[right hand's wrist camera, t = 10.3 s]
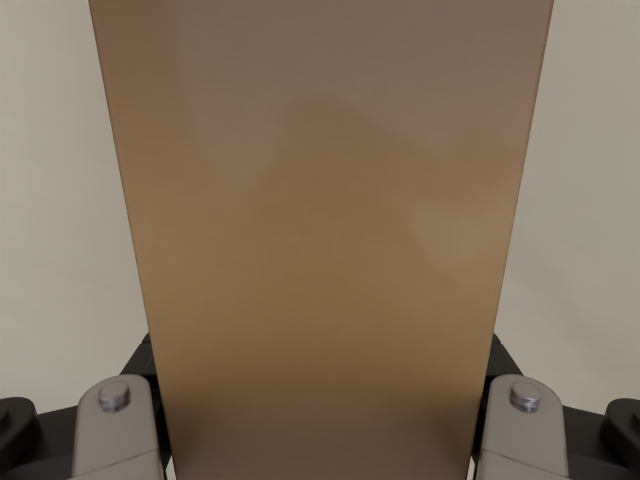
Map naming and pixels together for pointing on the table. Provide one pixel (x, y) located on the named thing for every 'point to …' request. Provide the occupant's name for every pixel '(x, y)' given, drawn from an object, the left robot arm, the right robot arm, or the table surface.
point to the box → (321, 221)
